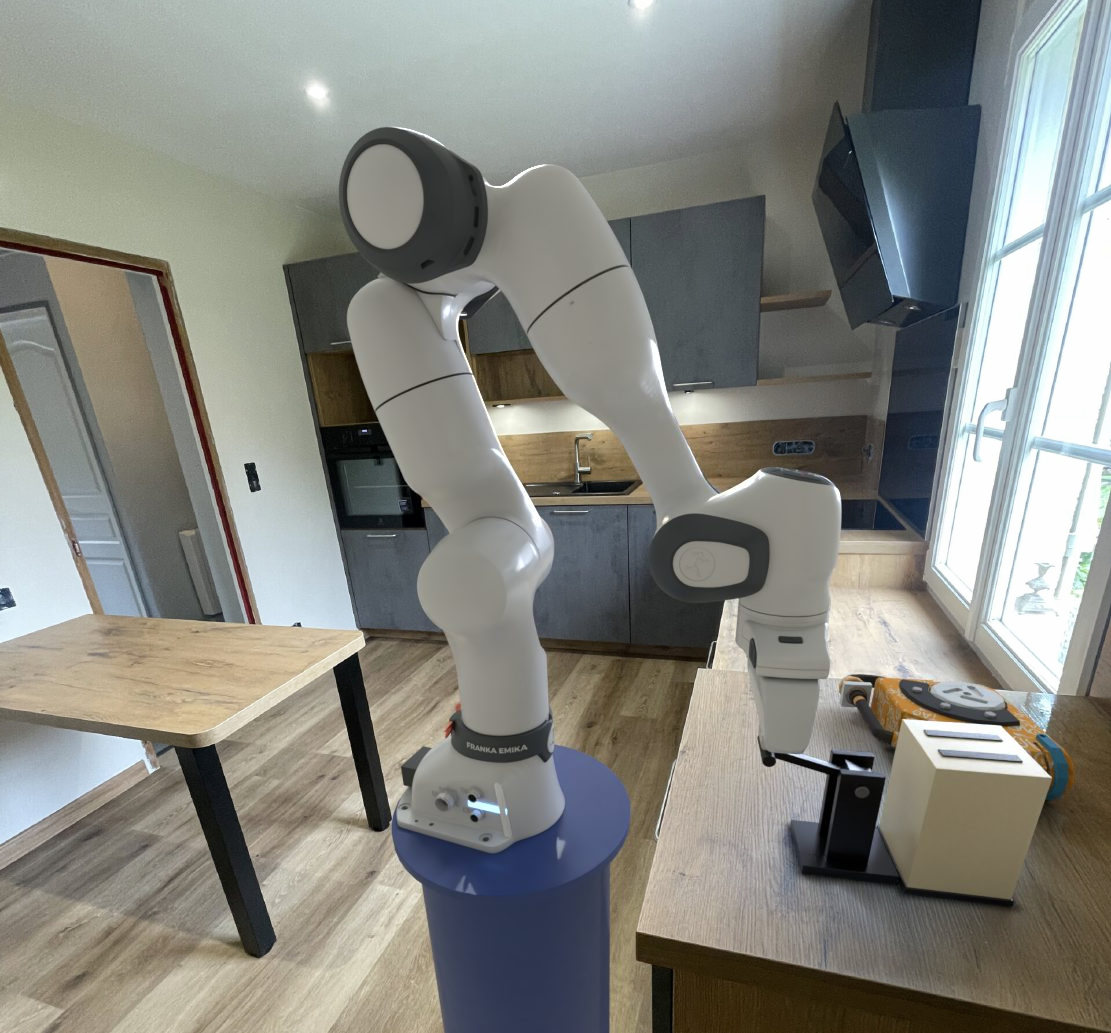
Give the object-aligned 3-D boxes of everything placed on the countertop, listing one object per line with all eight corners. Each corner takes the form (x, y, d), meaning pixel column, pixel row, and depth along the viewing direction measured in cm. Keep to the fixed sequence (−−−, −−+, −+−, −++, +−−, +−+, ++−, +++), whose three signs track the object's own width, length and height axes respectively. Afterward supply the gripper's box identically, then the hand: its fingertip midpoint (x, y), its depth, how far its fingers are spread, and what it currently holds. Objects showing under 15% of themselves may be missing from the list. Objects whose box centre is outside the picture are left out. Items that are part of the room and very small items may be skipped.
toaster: (904, 893, 63) (935, 768, 57) (875, 830, 72) (899, 716, 67) (1012, 907, 61) (1056, 778, 55) (968, 839, 70) (1002, 723, 64)
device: (892, 746, 75) (835, 655, 102) (881, 799, 78) (828, 696, 105) (1094, 760, 71) (979, 661, 98) (1074, 815, 74) (967, 704, 101)
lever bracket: (801, 873, 66) (816, 779, 61) (790, 827, 73) (802, 740, 69) (897, 885, 64) (920, 789, 59) (875, 836, 71) (894, 747, 67)
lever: (758, 768, 64) (766, 750, 63) (753, 744, 69) (761, 727, 68) (869, 802, 63) (879, 785, 62) (856, 775, 67) (865, 759, 66)
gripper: (740, 598, 70) (732, 699, 76) (759, 667, 52) (746, 795, 57) (795, 599, 69) (783, 702, 74) (835, 671, 51) (815, 801, 56)
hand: (767, 743), depth 65 cm, fingers closed, pressing on lever
